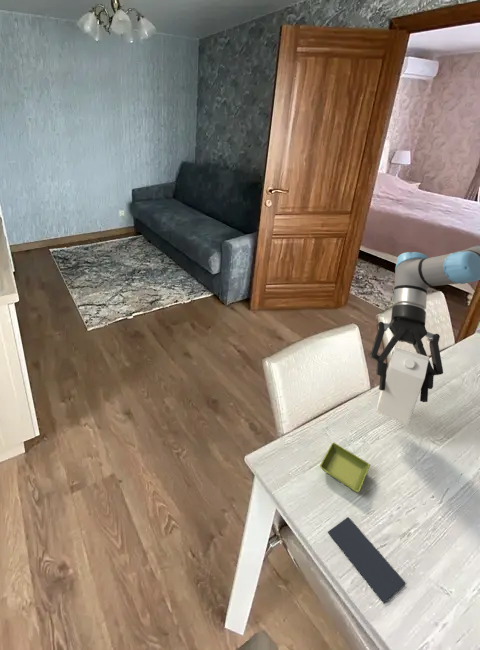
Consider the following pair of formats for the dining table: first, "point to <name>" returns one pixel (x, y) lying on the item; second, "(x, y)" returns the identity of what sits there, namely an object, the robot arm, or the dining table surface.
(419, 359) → the milk carton
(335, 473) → the green rectangular tray
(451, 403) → the dining table surface
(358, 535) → the edge strip
